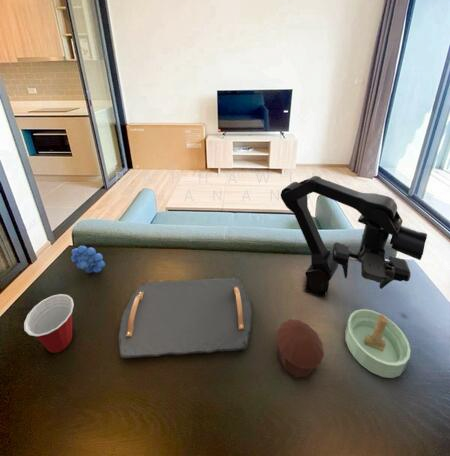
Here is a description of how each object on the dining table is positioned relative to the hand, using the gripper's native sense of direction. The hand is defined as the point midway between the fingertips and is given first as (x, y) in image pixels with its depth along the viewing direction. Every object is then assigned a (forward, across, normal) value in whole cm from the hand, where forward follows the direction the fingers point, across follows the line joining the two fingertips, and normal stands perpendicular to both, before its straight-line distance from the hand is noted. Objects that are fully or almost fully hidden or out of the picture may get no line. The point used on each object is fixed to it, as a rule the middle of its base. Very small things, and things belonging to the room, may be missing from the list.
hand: (362, 282), depth 73 cm
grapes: (+12, -89, -23) cm, 93 cm away
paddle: (+11, +4, -10) cm, 16 cm away
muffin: (+12, -15, -21) cm, 29 cm away
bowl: (+12, +4, -10) cm, 16 cm away
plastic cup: (+12, -76, -43) cm, 88 cm away
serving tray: (+12, -47, -23) cm, 54 cm away
